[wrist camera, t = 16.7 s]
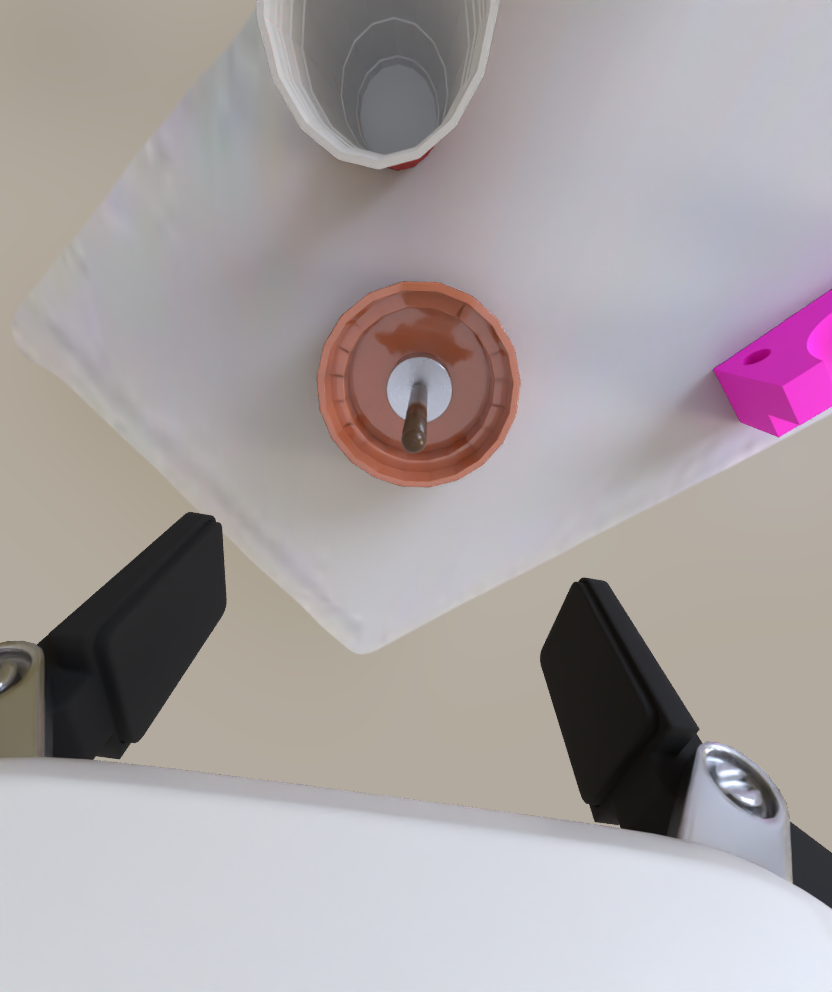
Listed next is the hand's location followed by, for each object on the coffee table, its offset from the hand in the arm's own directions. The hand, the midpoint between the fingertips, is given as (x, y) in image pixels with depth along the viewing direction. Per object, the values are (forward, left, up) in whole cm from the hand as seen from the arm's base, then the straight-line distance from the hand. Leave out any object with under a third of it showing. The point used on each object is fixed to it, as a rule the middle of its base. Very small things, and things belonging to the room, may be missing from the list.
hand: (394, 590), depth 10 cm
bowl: (0, 0, -28) cm, 28 cm away
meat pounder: (0, 0, -28) cm, 28 cm away
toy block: (+16, +30, -28) cm, 44 cm away
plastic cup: (-16, +9, -28) cm, 34 cm away
